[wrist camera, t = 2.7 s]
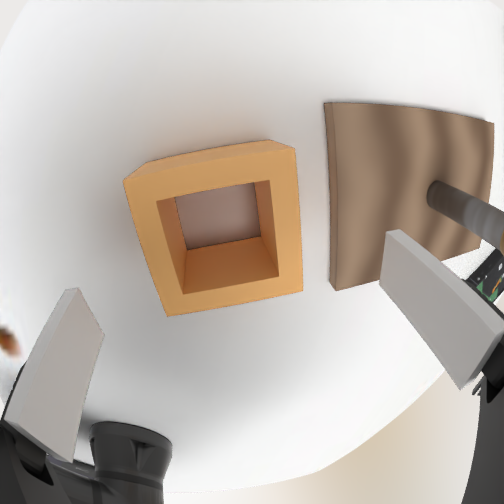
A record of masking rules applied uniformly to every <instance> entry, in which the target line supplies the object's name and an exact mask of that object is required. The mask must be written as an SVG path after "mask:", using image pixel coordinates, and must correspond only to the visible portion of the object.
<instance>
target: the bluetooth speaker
mask: <svg viewBox="0 0 504 504" xmlns="http://www.w3.org/2000/svg"><path fill="white" fill-rule="evenodd" d="M46 458H47V459H48V460H49V461H50V462H52V463H54V464H56V465H58V466H61V467H63V468H65V469H68V470H70V471H73V472H75V473H78V474H80V475H83V476H85V477H88V478H91V479H94V476H95V467H93V466H89V465H86V464H83V463H80V462H77V461H74V460H73V463H69V462H64V461H60V460H57V459H55V458H54V457H52V456H50V455H47V454H46Z"/></svg>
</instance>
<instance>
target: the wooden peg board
mask: <svg viewBox="0 0 504 504" xmlns="http://www.w3.org/2000/svg"><path fill="white" fill-rule="evenodd" d="M324 109H325V119H326V131H327V144H328V160H329V181H330V225H331V239H330V284H331V285H332V287H333V288H334V289H335V291H339V290H343V289H347V288H351V287H354V286H358V285H362V284H366V283H369V282H373V281H377V280H380V275H381V268H382V261H383V253H384V245H385V236H386V232H387V231H392V230H398V229H400V230H401V231H403V232H404V233H405V234H407V235H408V236H409V237H411V238H412V239H413V240H415V241H416V242H417V243H418V244H420V245H421V246H422V247H424V248H425V249H426V250H427V251H429V252H430V253H431V254H432V255H433V256H435V257H436V258H437V259H438V260H439V261H443V260H446V259H449V258H452V257H455V256H458V255H461V254H464V253H467V252H470V251H473V250H476V249H478V248H479V247H480V243H481V239H483V240H485V241H486V242H488V243H489V244H491V245H492V246H494V247H495V248H497V249H498V250H499V251H501V253H502V254H503V256H504V212H503V211H501V210H499V209H497V208H496V207H494V206H492V205H490V204H488V203H489V196H490V189H491V180H492V170H493V156H494V123H491V122H487V121H484V120H480V119H475V118H471V117H467V116H462V115H457V114H452V113H446V112H441V111H435V110H428V109H421V108H413V107H404V106H394V105H382V104H364V103H324Z"/></svg>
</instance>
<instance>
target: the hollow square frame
mask: <svg viewBox="0 0 504 504" xmlns="http://www.w3.org/2000/svg"><path fill="white" fill-rule="evenodd" d="M252 182H254V184H255V192H256V200H257V208H258V215H259V223H260V231H261V237H255V238H250V239H244V240H239V241H233V242H228V243H223V244H217V245H212V246H207V247H202V248H196V249H191V250H187V248H186V244H185V240H184V236H183V232H182V228H181V224H180V220H179V215H178V211H177V207H176V203H175V198H174V197H177V196H182V195H187V194H191V193H196V192H201V191H207V190H212V189H217V188H223V187H228V186H234V185H240V184H246V183H252ZM123 184H124V188H125V192H126V196H127V200H128V203H129V207H130V211H131V214H132V217H133V221H134V224H135V228H136V231H137V234H138V237H139V241H140V244H141V247H142V250H143V253H144V256H145V259H146V262H147V265H148V268H149V270H150V273H151V276H152V279H153V282H154V284H155V287H156V290H157V292H158V295H159V298H160V300H161V303H162V305H163V308H164V310H165V313H166V315H167V317H168V316H175V315H181V314H187V313H193V312H199V311H205V310H210V309H216V308H222V307H227V306H232V305H238V304H243V303H248V302H253V301H258V300H263V299H268V298H273V297H277V296H282V295H287V294H291V293H296V292H301V291H303V267H302V243H301V224H300V207H299V193H298V179H297V167H296V156H295V148H292V147H289V146H286V145H284V144H281V143H278V142H275V141H272V140H263V141H256V142H248V143H241V144H235V145H228V146H222V147H216V148H211V149H205V150H200V151H195V152H190V153H185V154H180V155H176V156H171V157H167V158H163V159H158V160H154V161H150V162H146V163H145V164H143V165H142V166H141V167H139V168H138V169H137V170H136V171H134V172H133V173H132V174H130V175H129V176H128V177H127V178H125V179H124V180H123Z"/></svg>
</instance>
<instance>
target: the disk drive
mask: <svg viewBox="0 0 504 504" xmlns="http://www.w3.org/2000/svg"><path fill="white" fill-rule="evenodd" d="M466 281H468V282H469V283H471V284H473V285H474V286H475V287H476V288H477V289H478V290H480V291H481V293H482V294H484V295H485V296H486V297H487V298H488V301H491V302H492V303H493V302H494V301H495V300H496V299H497V297H498V296H499V295H500V294H501V293H502V292H503V291H504V256H503V254H502V253H501V251H499V250H498V249H497V248H496V249H495V250H494V251H493V252H492V253H491V254H490V256H489V257H488V258H487V259H486V260H485V261H484V262H483V263H482V264H481V265H480V266H479V268H478V269H477V270H476V271H475V272H474V273H473V274H472V275H471V276H470V277H469V278H468V279H467V280H466Z"/></svg>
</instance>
